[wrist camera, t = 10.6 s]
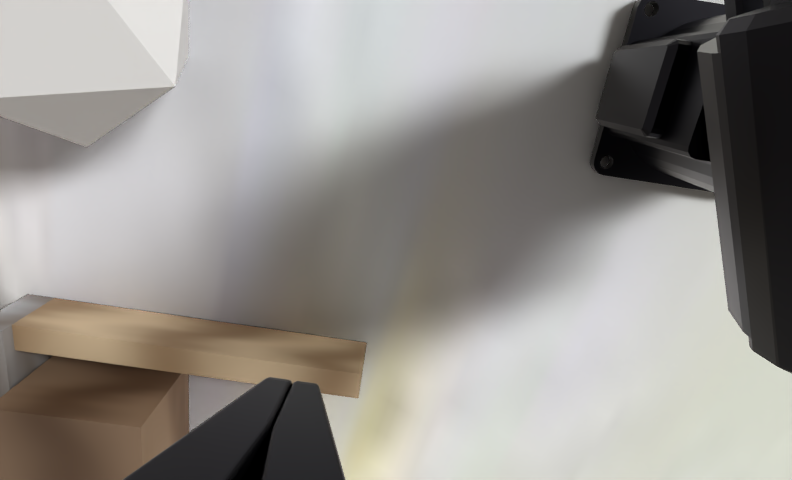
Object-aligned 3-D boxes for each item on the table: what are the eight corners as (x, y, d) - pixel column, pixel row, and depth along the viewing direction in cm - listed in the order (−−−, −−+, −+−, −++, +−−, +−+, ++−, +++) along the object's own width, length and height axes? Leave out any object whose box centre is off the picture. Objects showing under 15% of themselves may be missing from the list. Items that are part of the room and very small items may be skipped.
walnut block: (189, 362, 23) (140, 427, 19) (190, 461, 25) (146, 539, 21) (64, 346, 23) (-14, 408, 19) (75, 446, 25) (6, 523, 21)
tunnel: (366, 342, 22) (360, 381, 20) (340, 517, 26) (332, 571, 23) (27, 294, 22) (-29, 326, 19) (48, 477, 25) (2, 528, 23)
